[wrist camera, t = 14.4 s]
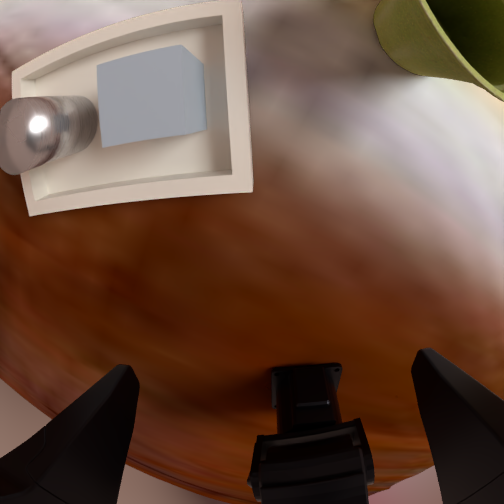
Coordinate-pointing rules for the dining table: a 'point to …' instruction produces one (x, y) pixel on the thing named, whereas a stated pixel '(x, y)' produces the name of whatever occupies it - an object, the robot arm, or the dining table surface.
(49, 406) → the dining table surface
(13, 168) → the metal cylinder
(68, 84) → the parts tray
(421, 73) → the plant pot
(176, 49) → the painted block
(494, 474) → the robot arm
